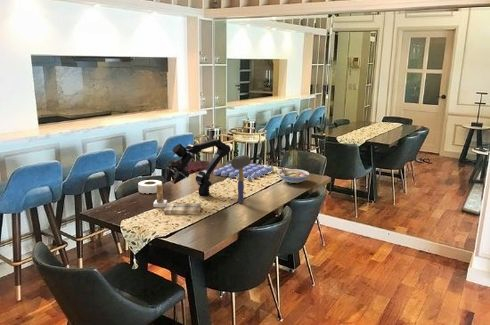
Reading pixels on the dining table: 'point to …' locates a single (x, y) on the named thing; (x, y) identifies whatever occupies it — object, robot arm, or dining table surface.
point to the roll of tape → (148, 186)
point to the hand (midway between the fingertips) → (170, 182)
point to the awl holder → (160, 204)
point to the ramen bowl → (293, 175)
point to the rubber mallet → (240, 173)
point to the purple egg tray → (250, 171)
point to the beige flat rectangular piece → (182, 208)
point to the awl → (159, 193)
